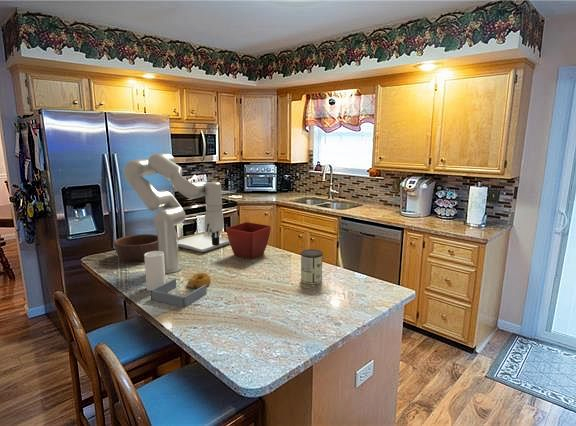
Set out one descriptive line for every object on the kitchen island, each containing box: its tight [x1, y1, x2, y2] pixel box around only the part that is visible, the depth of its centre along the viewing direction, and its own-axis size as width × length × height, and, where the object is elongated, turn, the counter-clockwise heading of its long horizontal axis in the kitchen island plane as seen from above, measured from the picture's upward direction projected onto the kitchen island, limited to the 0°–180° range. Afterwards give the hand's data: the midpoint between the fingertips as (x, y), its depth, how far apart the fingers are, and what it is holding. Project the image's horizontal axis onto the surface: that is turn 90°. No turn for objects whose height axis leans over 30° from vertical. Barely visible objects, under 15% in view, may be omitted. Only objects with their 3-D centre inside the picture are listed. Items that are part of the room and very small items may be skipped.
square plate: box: [177, 233, 230, 253], centre depth 233 cm, size 27×27×4 cm
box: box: [149, 278, 208, 308], centre depth 157 cm, size 18×15×4 cm
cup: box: [144, 251, 167, 292], centre depth 165 cm, size 8×8×16 cm
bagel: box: [186, 272, 212, 289], centre depth 170 cm, size 10×11×5 cm
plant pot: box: [225, 221, 272, 260], centre depth 213 cm, size 19×19×17 cm
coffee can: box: [300, 248, 324, 285], centre depth 175 cm, size 10×10×14 cm
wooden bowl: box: [113, 233, 159, 263], centre depth 209 cm, size 25×25×10 cm
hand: (215, 244), depth 179 cm, fingers closed
